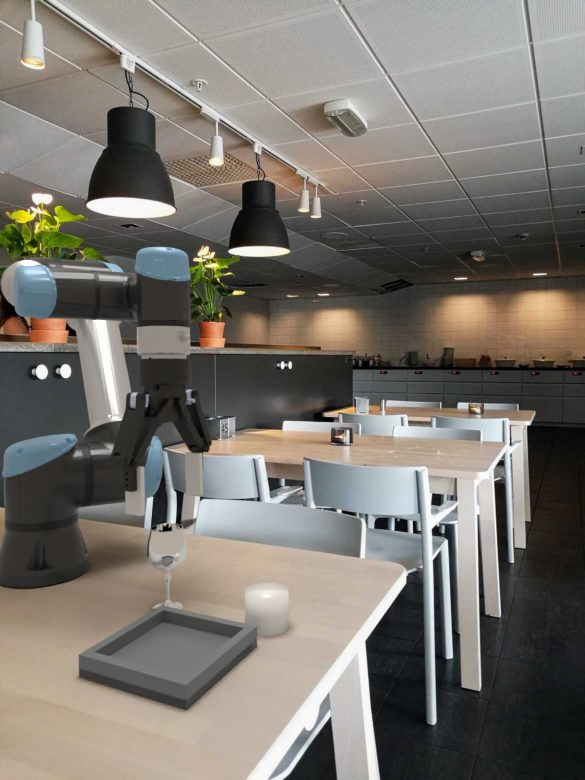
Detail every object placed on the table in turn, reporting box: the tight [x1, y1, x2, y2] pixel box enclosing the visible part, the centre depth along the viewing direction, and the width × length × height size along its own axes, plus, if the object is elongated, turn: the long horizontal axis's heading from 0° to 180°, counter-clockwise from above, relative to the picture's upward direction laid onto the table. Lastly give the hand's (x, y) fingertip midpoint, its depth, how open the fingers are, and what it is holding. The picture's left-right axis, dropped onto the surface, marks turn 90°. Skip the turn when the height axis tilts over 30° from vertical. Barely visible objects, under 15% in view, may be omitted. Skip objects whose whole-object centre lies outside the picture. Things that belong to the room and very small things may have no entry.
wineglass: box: [146, 522, 188, 611], centre depth 85 cm, size 6×6×12 cm
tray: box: [78, 605, 258, 710], centre depth 70 cm, size 15×15×3 cm
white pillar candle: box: [244, 582, 290, 638], centre depth 79 cm, size 6×6×5 cm
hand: (167, 504), depth 84 cm, fingers open, 13 cm apart
